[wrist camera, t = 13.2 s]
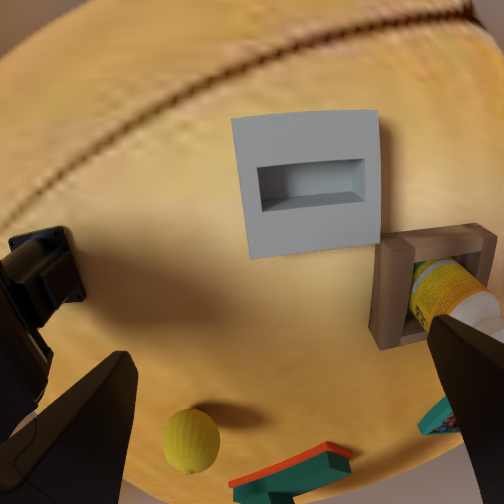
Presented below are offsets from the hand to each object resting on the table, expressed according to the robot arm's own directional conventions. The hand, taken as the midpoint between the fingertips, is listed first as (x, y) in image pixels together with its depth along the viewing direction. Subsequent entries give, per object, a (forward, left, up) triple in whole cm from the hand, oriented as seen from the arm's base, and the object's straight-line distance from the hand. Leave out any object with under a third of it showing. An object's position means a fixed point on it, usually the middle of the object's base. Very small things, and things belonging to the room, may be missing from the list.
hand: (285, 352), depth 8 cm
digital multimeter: (+26, -33, -14) cm, 44 cm away
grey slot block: (+3, +2, -13) cm, 14 cm away
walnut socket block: (+13, -7, -13) cm, 20 cm away
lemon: (-9, -20, -13) cm, 26 cm away
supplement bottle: (+13, -7, -13) cm, 19 cm away
